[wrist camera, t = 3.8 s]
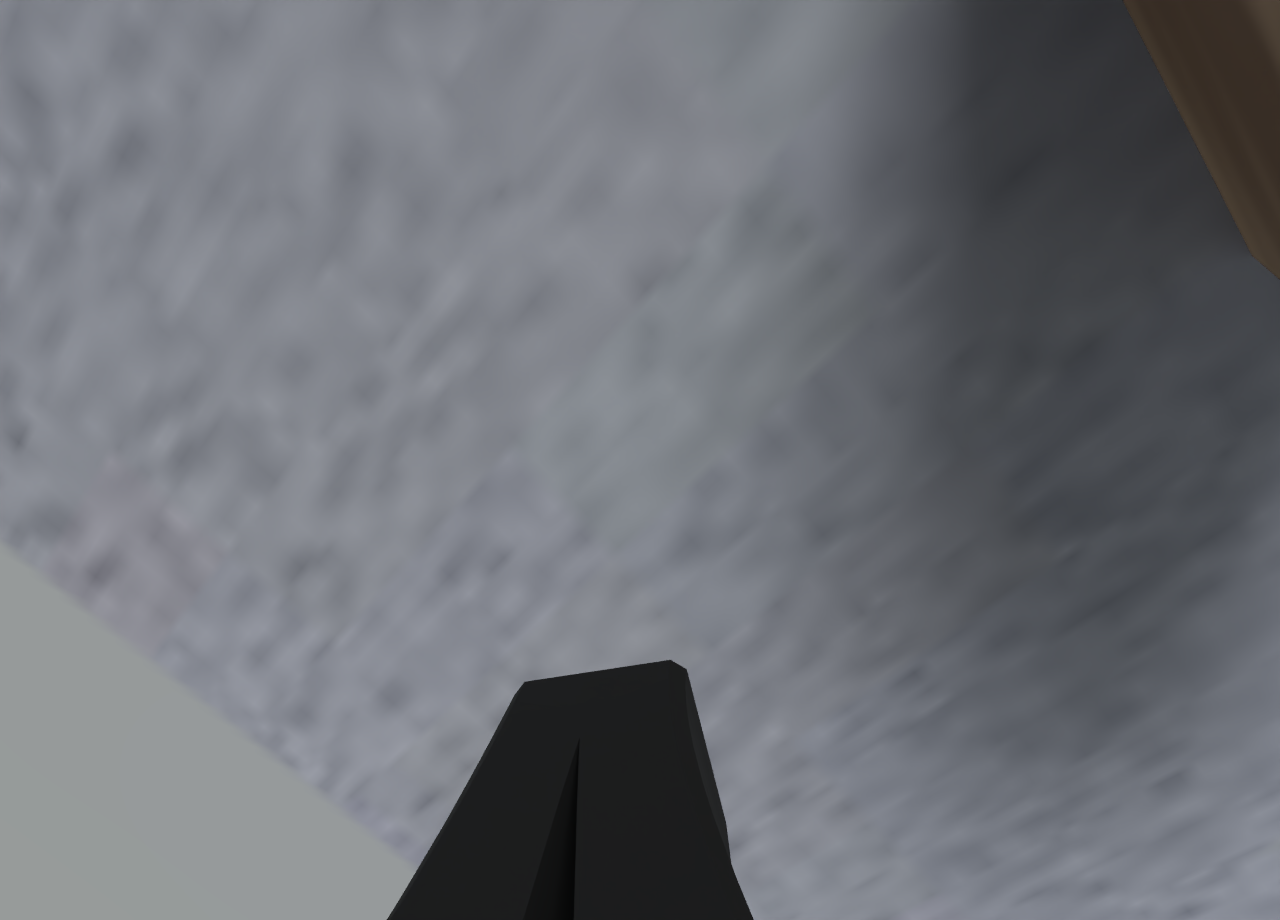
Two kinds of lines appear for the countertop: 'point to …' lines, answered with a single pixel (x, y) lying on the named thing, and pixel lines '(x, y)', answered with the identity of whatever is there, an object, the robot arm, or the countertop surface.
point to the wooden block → (1226, 100)
